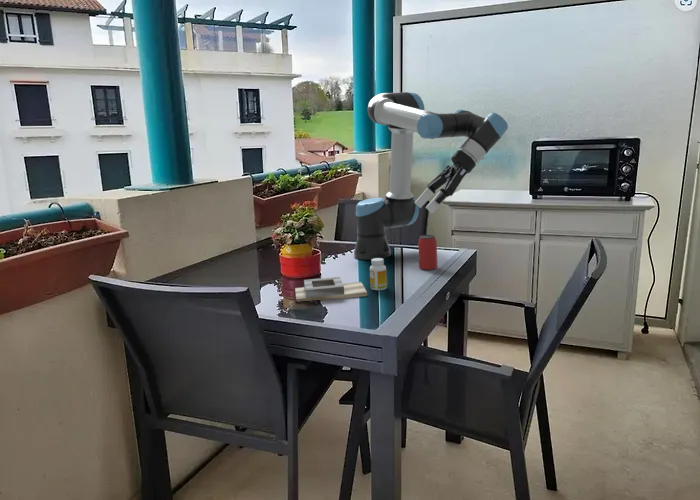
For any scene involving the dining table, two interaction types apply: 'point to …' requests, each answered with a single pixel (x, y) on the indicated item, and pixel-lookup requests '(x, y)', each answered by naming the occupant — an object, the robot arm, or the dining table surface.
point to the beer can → (427, 252)
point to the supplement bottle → (378, 274)
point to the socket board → (347, 291)
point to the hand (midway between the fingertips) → (422, 208)
